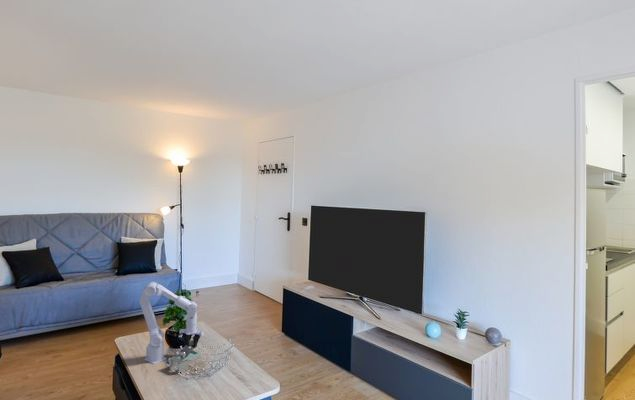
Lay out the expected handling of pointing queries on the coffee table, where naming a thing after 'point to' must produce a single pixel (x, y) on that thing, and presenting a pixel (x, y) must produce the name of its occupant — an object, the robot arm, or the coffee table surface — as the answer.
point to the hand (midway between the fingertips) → (191, 346)
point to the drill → (187, 349)
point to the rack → (189, 356)
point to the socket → (178, 364)
